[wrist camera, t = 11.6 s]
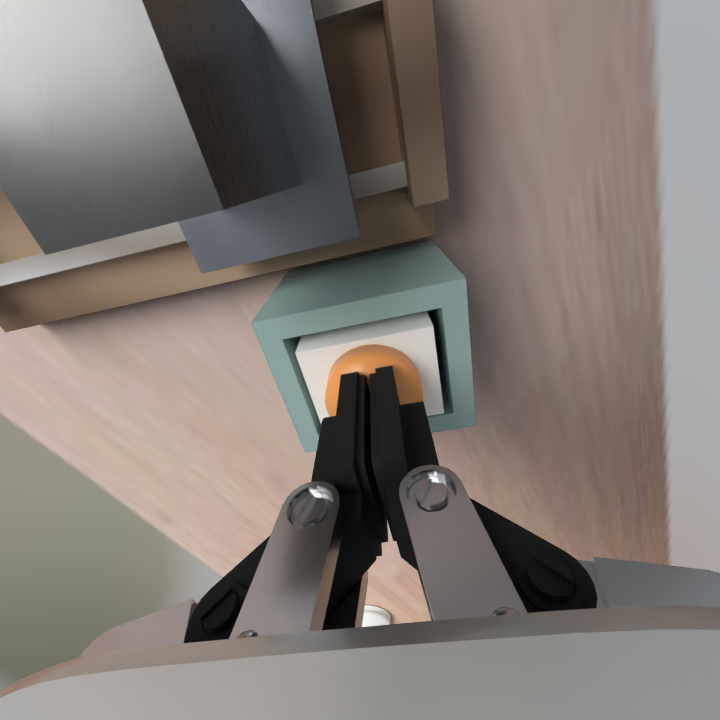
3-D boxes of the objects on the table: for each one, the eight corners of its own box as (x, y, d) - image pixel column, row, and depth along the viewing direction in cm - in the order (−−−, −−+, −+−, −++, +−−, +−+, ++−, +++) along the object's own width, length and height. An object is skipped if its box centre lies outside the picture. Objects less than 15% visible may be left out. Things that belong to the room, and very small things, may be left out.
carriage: (94, -11, 10) (-666, -500, 3) (294, -82, 9) (18, -1048, 2) (214, 265, 14) (47, 376, 6) (360, 231, 13) (354, 314, 6)
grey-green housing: (287, 272, 16) (251, 322, 11) (432, 240, 16) (466, 278, 10) (322, 377, 19) (306, 455, 14) (444, 355, 19) (476, 429, 13)
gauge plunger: (314, 300, 16) (289, 368, 10) (413, 279, 15) (439, 340, 10) (334, 365, 17) (321, 452, 12) (423, 349, 17) (449, 432, 12)
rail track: (-153, 85, 13) (-311, 61, 10) (400, -111, 10) (414, -224, 7) (28, 320, 18) (-41, 352, 15) (435, 227, 15) (452, 243, 12)
